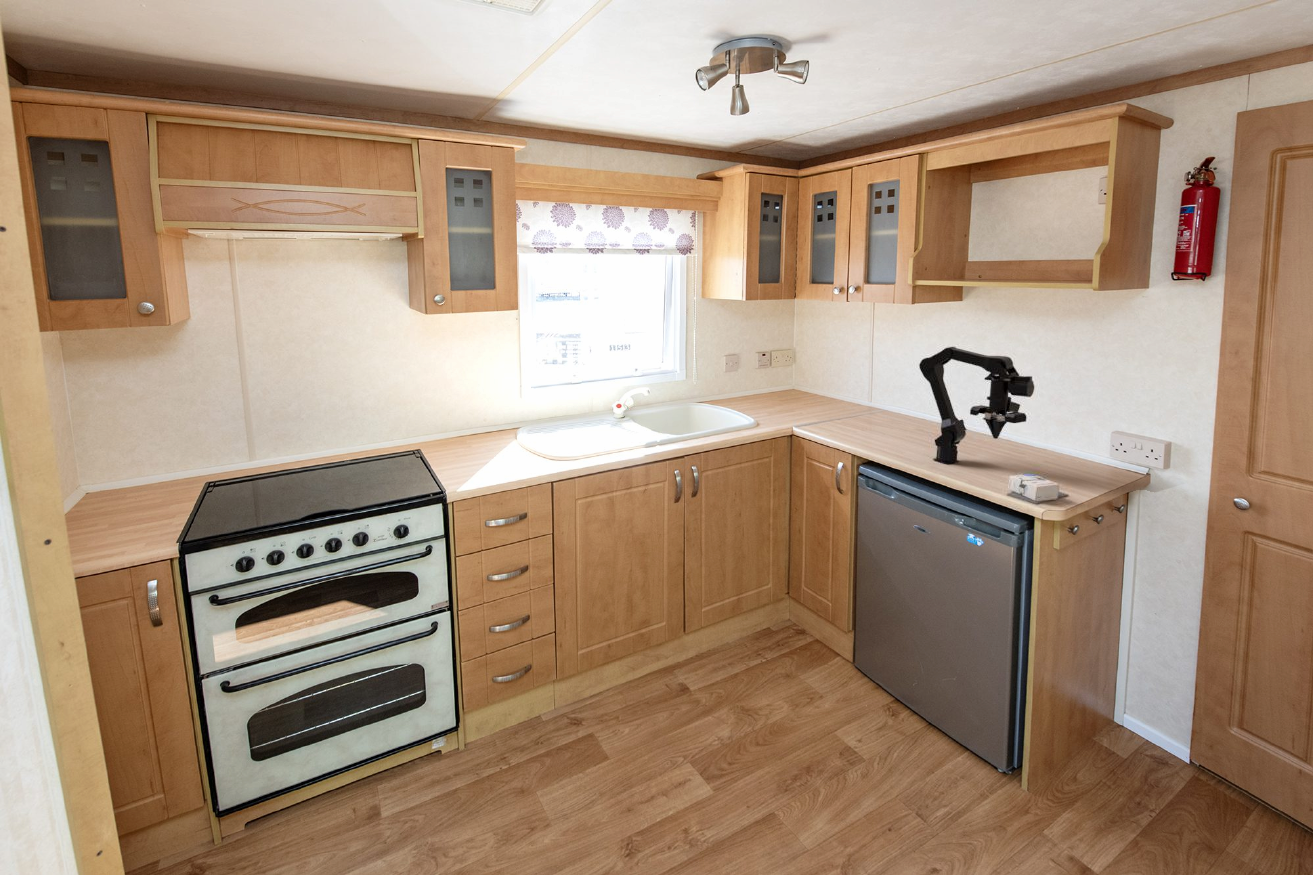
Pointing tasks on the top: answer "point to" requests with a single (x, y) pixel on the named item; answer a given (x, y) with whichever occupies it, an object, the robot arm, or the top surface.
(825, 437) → the top surface
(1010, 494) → the mat
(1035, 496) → the ink box
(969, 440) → the top surface
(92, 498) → the top surface
